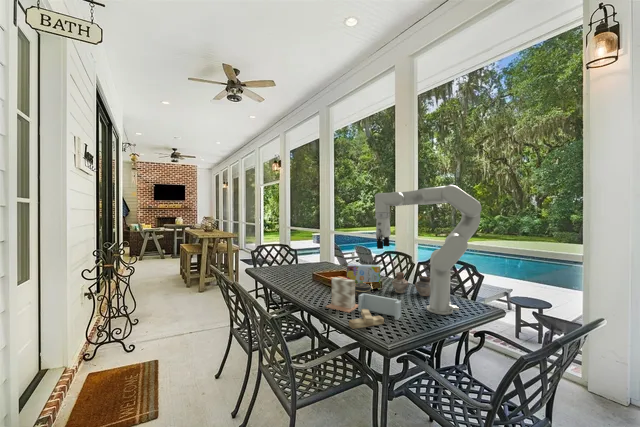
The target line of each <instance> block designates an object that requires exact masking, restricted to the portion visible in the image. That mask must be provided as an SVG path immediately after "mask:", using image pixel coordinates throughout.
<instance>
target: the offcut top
mask: <svg viewBox="0 0 640 427" xmlns="http://www.w3.org/2000/svg"><path fill="white" fill-rule="evenodd" d="M360 315H361V317H362V318H363V319H364V321H365V323H366V325H370V324H373V316H372V313H371V311H369V310H368V309H361V312H360Z"/></svg>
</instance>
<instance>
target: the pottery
mask: <svg viewBox="0 0 640 427" xmlns="http://www.w3.org/2000/svg"><path fill="white" fill-rule="evenodd" d="M404 275H405V273H404V272H399V271H396V272H395V276H396V277H395V278H394V279H392V281H391V284H392V287H393V289H394V290H395V291H394V292H395V293H397V294H404V293H406V291H405V290H406V289H407V288H408V286H409V281H407V279H405V278H404ZM418 279H419V280H418V281H416V282H414V287H415V290H416V291H417V292H418V293H419V294H418V295H419V296H421V297H430V276H427V275H425V276H424V275H420V276H419V277H418Z"/></svg>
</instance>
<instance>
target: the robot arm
mask: <svg viewBox="0 0 640 427" xmlns="http://www.w3.org/2000/svg"><path fill="white" fill-rule="evenodd" d="M374 204H375V205H374V206H375V207H374V212H375V220H376V222H375V223H376V224H375V232H376V233H375V235H376V237H375V238H376V248H377V249H378V250H383V249H384V247H390V236H391V235H392V234H391V222H390V218H391V217H390V216H391V214H390V212H391V211H390V210H391V209H390V208H391V207H390V206H392V207H398V206H399V207H400V206H411V205H412V206H413V205H420V206H421V205H422V206H424V205H435V204H436V205H437V204H449V205H451V206H452V207H454V208H455V209H457V210H458V211H459V212H460V214H461V219H460V221H459V223H457V225H456V226H455V227H454V229H453V230H452V231H450V233H449V234H448V235H447V236H446V237H445V238H444V244H442V246H441V247H440V248H439V249H435V250H433V251H432V252H431V254H430V259H429V261H430V262H429V263H430V274H429V275H430V276H429V277H430V295H429V304H428V305H427V306H426V310H427V311H428V312H430V313H431V314H435V315H443V316H446V315H452V314H453V313H454V311H455V312H460V306H459V307H458V306H457V305H453V304H452V302H451V269H452V268H453V267H455V265H456V264H457V262H459V260H460V259H461V258H462V256H464V254H465V253H466V251H467V250H468V247H469V245H468V242H469V240H470V239H471V238H472V237H473V235H474V234H475V233H476V232H477V230H478V229H479V226H480V224H481V212H482V205H481V203H480V201H479V200H477V199H476V198H474V197H473V196H472V195H470V194H468V193H467V192H465V191H464V190H462V189H461V188H460V187H458V186H457V185H454V184H448V185H444V186H435V187H423V188H419V189H415V190H408V191H393V192H378V193H375V195H374Z"/></svg>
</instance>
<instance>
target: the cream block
mask: <svg viewBox="0 0 640 427" xmlns="http://www.w3.org/2000/svg"><path fill="white" fill-rule="evenodd" d="M330 304H332V305H336V306H340V307H345V308H349V309H352V308H354V307H355V304H356V299H355V280H350V279H347V278H345V277H336V276H335V277H332V278H331V302H330Z"/></svg>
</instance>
